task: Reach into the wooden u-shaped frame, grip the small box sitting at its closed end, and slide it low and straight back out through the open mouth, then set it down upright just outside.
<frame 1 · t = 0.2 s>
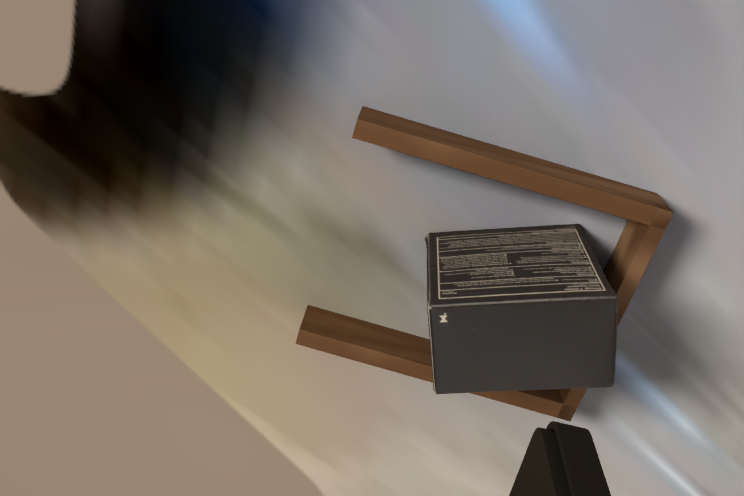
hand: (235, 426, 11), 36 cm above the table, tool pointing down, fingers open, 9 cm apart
small box: (503, 268, 50), resting in wooden u-shaped frame
wooden u-shaped frame: (469, 259, 49), on the table
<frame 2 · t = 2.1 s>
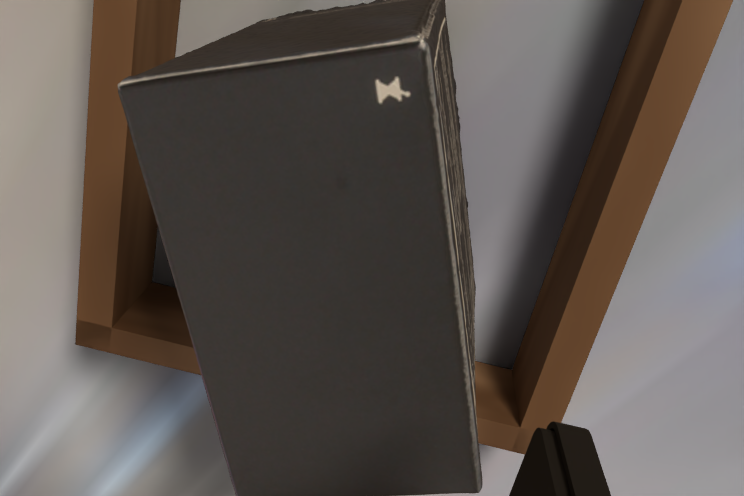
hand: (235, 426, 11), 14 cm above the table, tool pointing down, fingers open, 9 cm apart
small box: (368, 162, 24), resting in wooden u-shaped frame
wooden u-shaped frame: (384, 93, 23), on the table
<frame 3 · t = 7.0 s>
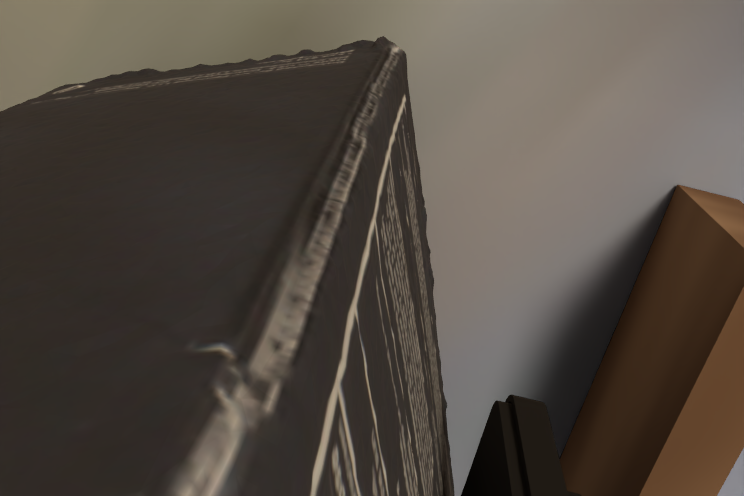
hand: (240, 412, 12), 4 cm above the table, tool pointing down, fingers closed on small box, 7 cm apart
small box: (275, 327, 14), point 1 cm above the table, touching gripper
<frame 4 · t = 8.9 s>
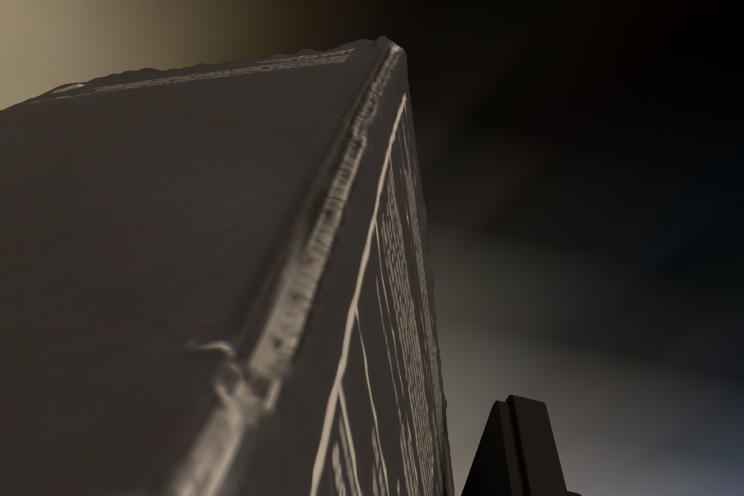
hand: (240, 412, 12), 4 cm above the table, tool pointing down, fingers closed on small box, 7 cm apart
small box: (275, 326, 14), point 1 cm above the table, touching gripper
when the fingers open (3 cm above the table, at t = 10.3 s): small box stays where it is, on the table.
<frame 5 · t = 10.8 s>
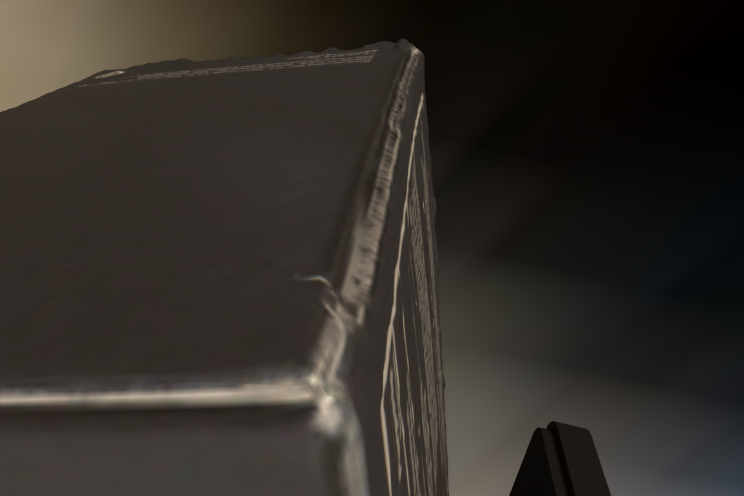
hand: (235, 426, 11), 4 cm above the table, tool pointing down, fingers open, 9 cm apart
small box: (287, 306, 15), on the table
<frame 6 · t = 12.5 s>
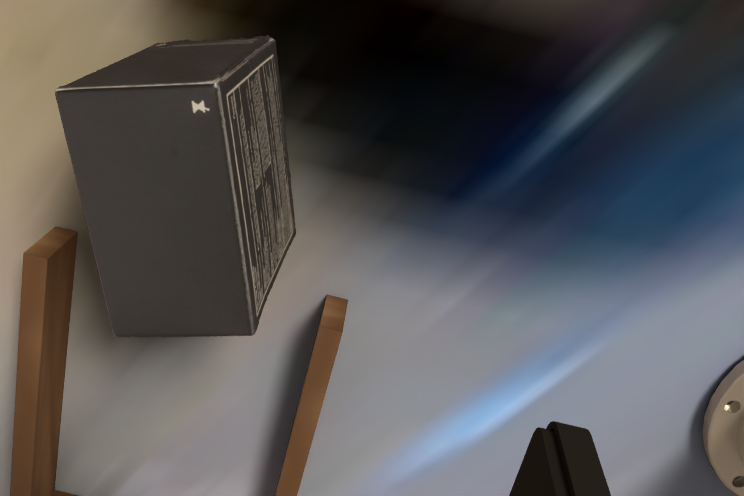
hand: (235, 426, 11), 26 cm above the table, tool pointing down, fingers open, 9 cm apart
small box: (226, 143, 36), on the table
wooden u-shaped frame: (178, 406, 43), on the table
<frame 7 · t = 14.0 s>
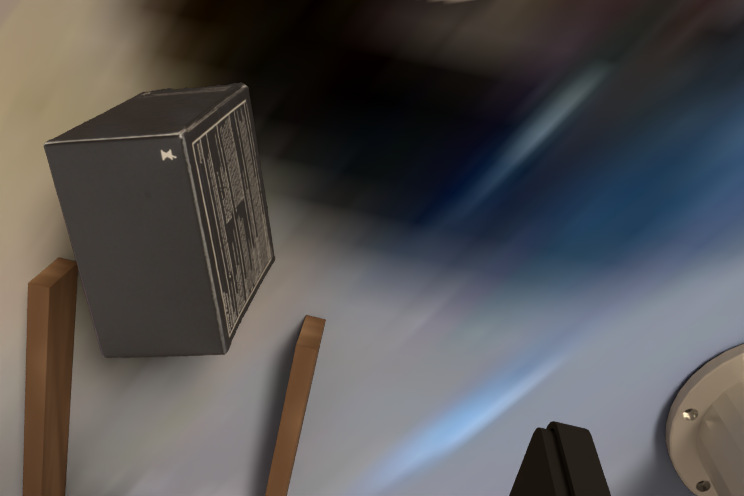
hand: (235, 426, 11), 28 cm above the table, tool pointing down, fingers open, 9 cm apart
small box: (209, 178, 40), on the table
wooden u-shaped frame: (175, 421, 47), on the table
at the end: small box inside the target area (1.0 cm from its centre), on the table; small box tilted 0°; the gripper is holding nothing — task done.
